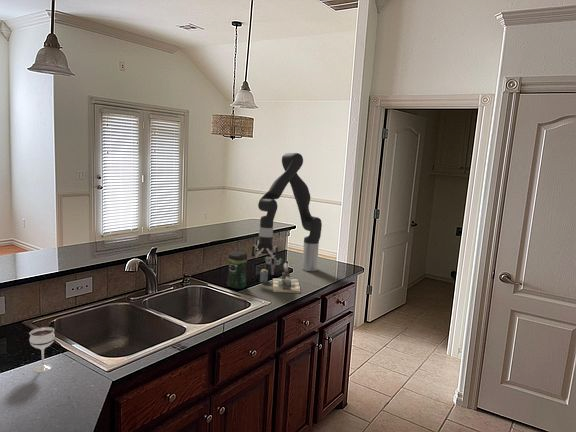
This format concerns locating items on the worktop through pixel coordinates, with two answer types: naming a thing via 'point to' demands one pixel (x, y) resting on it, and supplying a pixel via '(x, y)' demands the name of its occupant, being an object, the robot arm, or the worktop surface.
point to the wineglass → (42, 344)
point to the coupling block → (264, 276)
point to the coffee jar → (237, 270)
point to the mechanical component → (273, 264)
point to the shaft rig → (286, 283)
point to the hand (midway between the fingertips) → (264, 264)
